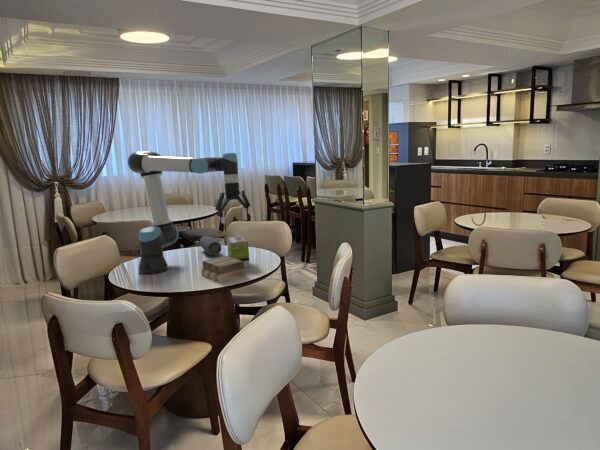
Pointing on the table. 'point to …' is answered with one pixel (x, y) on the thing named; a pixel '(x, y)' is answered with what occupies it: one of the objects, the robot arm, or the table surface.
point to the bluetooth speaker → (210, 245)
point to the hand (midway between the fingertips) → (234, 221)
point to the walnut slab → (223, 265)
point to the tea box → (238, 249)
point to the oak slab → (223, 275)
